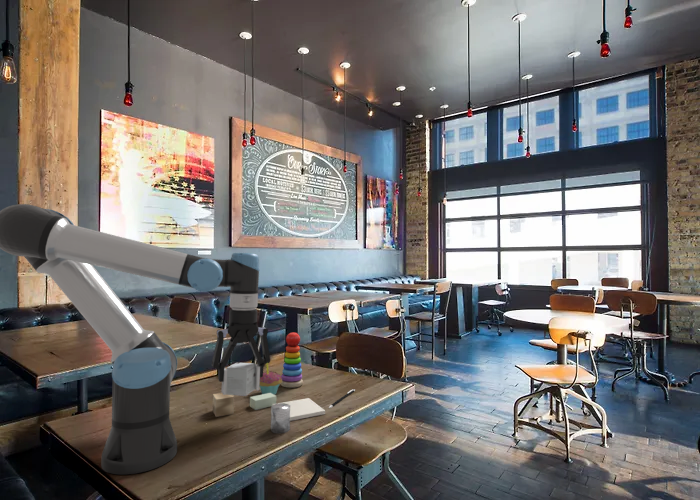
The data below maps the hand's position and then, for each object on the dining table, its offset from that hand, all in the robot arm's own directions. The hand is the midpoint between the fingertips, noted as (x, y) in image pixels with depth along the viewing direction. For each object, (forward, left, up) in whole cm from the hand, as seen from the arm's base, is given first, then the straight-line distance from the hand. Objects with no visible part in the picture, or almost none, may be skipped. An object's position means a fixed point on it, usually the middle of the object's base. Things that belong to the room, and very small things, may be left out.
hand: (240, 390), depth 111 cm
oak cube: (-3, +10, -9) cm, 14 cm away
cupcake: (+14, +20, -9) cm, 26 cm away
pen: (+34, +4, -9) cm, 35 cm away
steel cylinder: (+8, -9, -9) cm, 15 cm away
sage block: (+9, +10, -9) cm, 16 cm away
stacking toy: (+24, +25, -9) cm, 36 cm away
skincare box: (0, 0, 0) cm, 0 cm away
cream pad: (+17, +1, -9) cm, 20 cm away
